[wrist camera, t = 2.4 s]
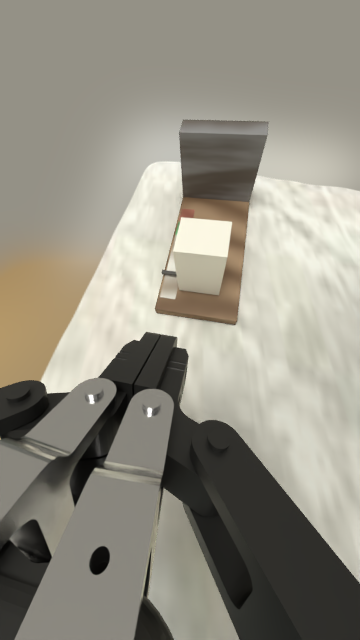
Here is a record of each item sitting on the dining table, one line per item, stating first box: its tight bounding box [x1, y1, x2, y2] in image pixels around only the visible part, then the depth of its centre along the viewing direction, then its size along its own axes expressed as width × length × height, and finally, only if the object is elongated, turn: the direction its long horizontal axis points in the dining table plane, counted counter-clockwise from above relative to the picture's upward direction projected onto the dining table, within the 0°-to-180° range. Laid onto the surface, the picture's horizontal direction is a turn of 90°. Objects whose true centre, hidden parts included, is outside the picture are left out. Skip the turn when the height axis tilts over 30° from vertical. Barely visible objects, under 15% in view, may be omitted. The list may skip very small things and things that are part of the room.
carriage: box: [162, 217, 232, 295], centre depth 28 cm, size 7×9×9 cm
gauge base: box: [155, 120, 268, 325], centre depth 30 cm, size 28×12×12 cm, turn 169°
